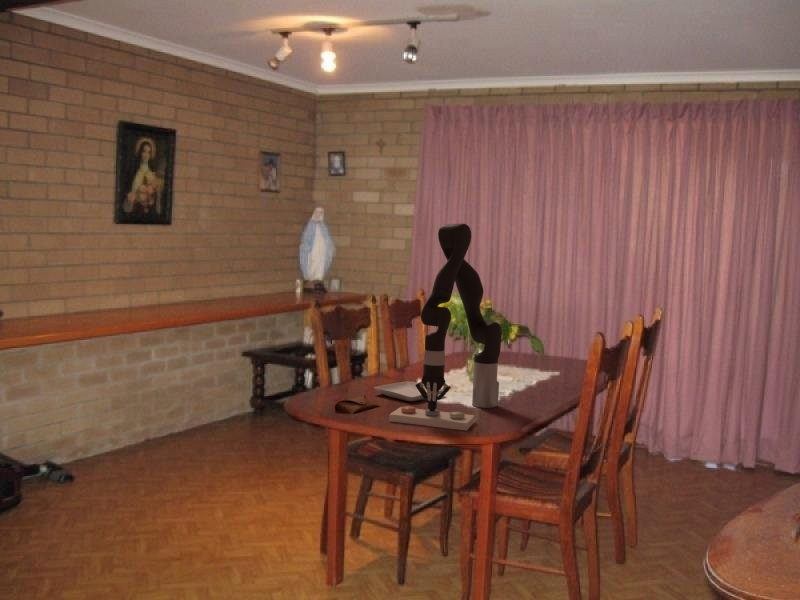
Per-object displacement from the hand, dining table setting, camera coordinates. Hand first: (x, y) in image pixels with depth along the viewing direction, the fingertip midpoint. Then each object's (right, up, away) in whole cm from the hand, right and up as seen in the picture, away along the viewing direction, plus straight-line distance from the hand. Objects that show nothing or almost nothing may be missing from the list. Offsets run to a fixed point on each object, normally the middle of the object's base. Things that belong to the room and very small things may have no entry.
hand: (432, 410), depth 278 cm
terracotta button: (-8, -3, +3) cm, 10 cm away
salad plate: (-8, 0, +41) cm, 42 cm away
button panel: (0, -4, 0) cm, 4 cm away
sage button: (+9, -4, -2) cm, 10 cm away
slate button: (0, -4, 0) cm, 4 cm away
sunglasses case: (-27, -2, +16) cm, 32 cm away
